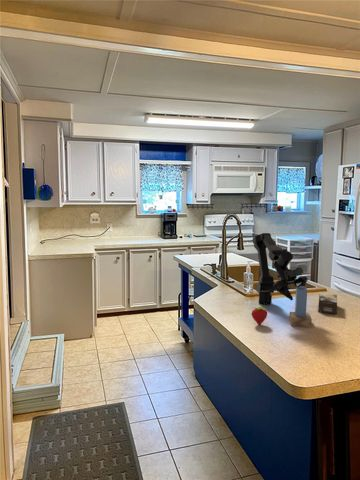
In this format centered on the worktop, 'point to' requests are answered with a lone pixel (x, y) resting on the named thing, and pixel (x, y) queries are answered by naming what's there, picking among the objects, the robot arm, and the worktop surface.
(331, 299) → the coffee box
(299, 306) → the blue-grey tall block
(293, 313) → the walnut base
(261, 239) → the robot arm
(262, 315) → the strawberry
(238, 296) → the worktop surface
